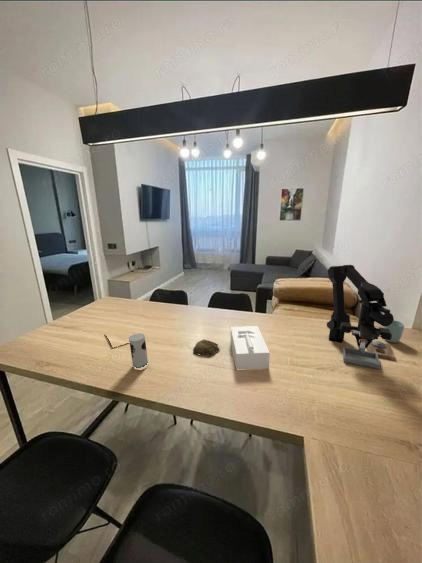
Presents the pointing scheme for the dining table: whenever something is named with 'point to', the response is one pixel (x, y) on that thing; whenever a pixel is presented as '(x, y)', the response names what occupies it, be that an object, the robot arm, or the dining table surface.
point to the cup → (395, 331)
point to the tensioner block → (381, 349)
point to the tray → (361, 358)
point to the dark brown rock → (206, 348)
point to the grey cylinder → (138, 350)
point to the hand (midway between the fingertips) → (361, 347)
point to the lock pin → (362, 345)
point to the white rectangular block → (249, 348)
